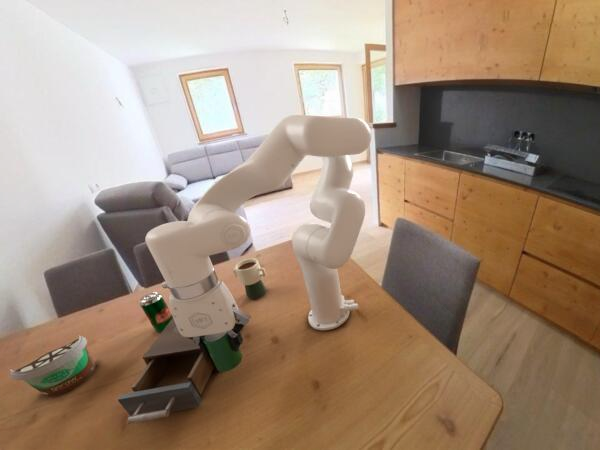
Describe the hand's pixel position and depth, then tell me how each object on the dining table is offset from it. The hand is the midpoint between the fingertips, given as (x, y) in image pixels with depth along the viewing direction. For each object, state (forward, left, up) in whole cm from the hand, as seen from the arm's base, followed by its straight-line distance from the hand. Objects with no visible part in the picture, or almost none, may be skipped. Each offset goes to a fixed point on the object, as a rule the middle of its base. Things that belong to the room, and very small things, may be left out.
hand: (224, 347), depth 62 cm
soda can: (+30, -25, -13) cm, 41 cm away
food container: (+43, -9, -13) cm, 46 cm away
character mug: (+6, -35, -13) cm, 38 cm away
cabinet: (+14, -13, -13) cm, 23 cm away
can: (0, 0, -4) cm, 4 cm away
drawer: (+14, -1, -12) cm, 18 cm away
